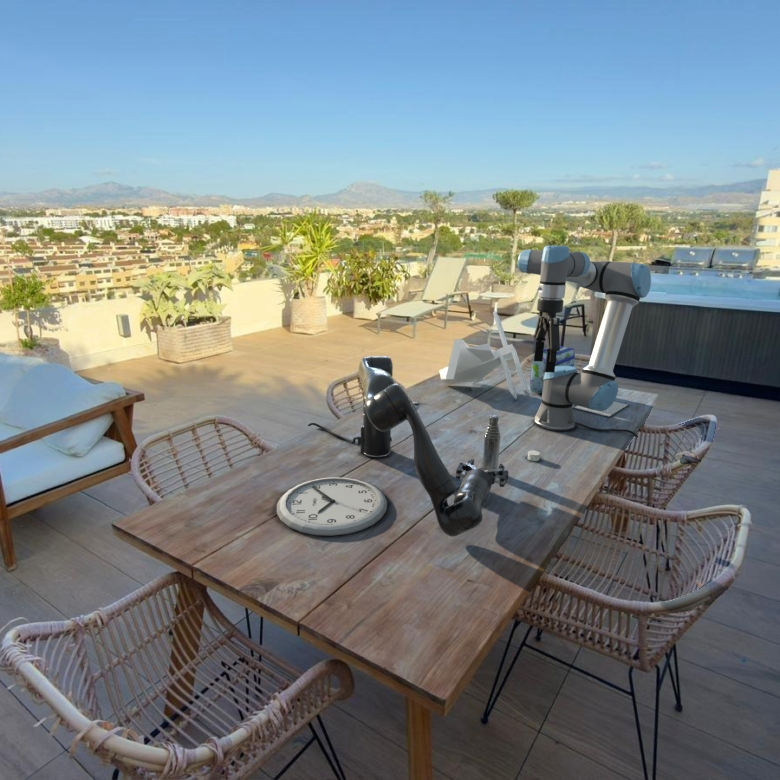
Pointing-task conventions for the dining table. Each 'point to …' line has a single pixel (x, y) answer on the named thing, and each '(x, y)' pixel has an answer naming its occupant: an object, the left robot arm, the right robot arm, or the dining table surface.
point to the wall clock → (331, 506)
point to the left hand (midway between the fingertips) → (486, 464)
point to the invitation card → (608, 412)
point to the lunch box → (538, 367)
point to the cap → (533, 455)
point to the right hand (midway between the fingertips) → (543, 366)
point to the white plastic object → (482, 362)
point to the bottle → (491, 444)
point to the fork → (415, 401)
